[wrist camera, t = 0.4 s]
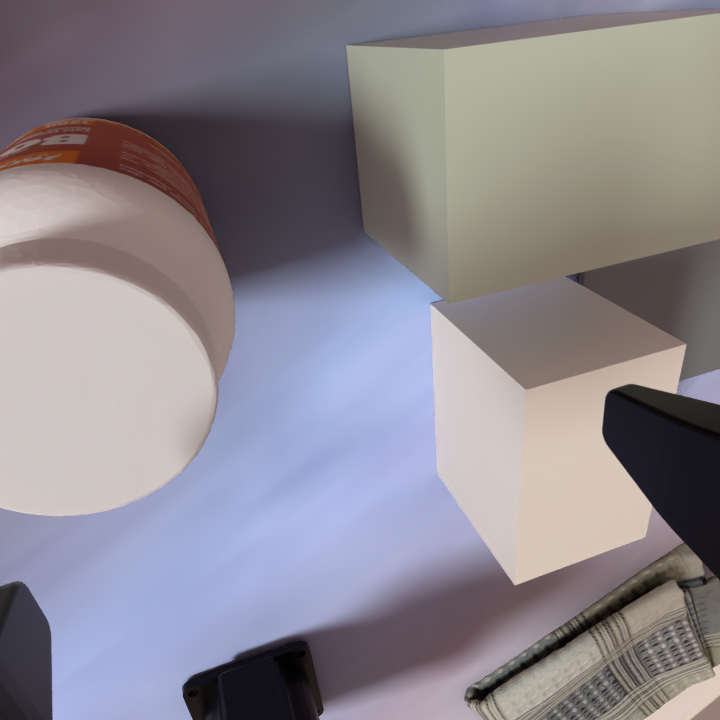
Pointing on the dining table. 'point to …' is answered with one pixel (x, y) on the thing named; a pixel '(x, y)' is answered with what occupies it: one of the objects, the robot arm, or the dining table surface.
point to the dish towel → (615, 651)
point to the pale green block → (539, 146)
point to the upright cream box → (542, 419)
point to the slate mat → (671, 298)
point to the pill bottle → (104, 318)
